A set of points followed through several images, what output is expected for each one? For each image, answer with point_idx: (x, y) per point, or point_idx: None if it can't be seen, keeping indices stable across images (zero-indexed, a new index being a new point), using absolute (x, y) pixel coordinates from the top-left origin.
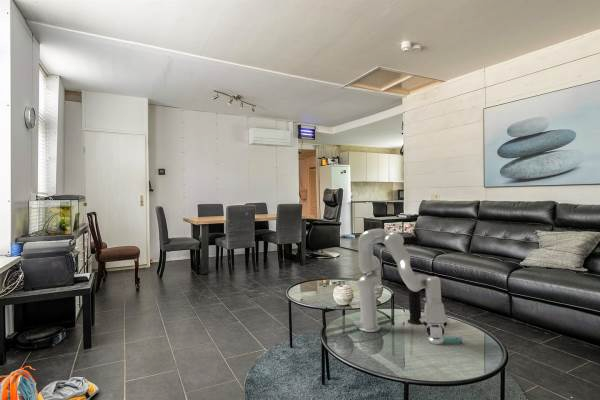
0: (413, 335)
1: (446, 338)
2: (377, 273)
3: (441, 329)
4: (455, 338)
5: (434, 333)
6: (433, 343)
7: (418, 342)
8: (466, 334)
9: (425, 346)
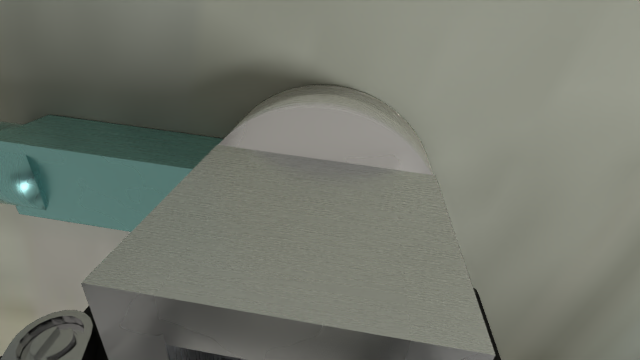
0: (526, 356)
1: (165, 173)
2: None
3: (129, 253)
4: (41, 169)
5: (354, 210)
6: (390, 110)
7: (585, 185)
8: (15, 319)
9: (558, 30)
